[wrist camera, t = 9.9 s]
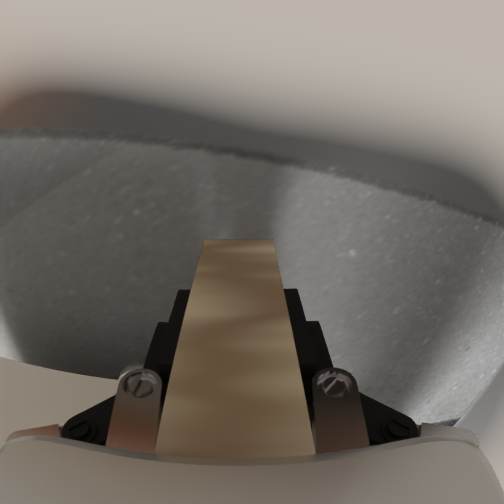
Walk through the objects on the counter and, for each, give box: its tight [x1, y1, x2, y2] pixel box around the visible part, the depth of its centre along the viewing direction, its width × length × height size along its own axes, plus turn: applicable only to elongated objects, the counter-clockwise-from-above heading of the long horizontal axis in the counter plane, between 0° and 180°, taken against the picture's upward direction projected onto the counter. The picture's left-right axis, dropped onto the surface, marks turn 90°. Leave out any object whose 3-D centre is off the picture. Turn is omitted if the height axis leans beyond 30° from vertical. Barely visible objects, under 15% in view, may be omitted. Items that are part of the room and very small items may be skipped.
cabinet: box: [0, 357, 120, 449], centre depth 16 cm, size 20×14×15 cm
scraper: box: [154, 239, 316, 459], centre depth 13 cm, size 3×18×11 cm, turn 0°
